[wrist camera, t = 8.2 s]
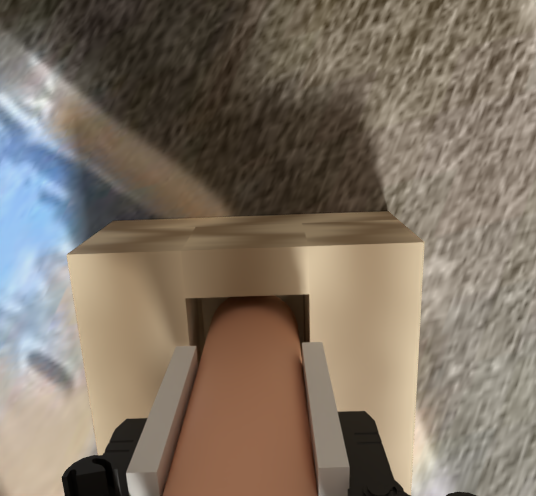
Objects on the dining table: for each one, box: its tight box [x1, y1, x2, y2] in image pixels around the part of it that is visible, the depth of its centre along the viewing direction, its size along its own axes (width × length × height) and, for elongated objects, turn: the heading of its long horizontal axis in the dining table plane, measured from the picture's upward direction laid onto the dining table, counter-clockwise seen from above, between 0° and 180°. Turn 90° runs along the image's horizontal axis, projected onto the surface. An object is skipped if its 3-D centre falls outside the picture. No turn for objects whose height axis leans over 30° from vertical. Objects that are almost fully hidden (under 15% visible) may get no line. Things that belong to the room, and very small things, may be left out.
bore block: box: [67, 211, 424, 496], centre depth 21 cm, size 14×18×14 cm
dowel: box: [163, 295, 318, 496], centre depth 15 cm, size 4×4×14 cm
